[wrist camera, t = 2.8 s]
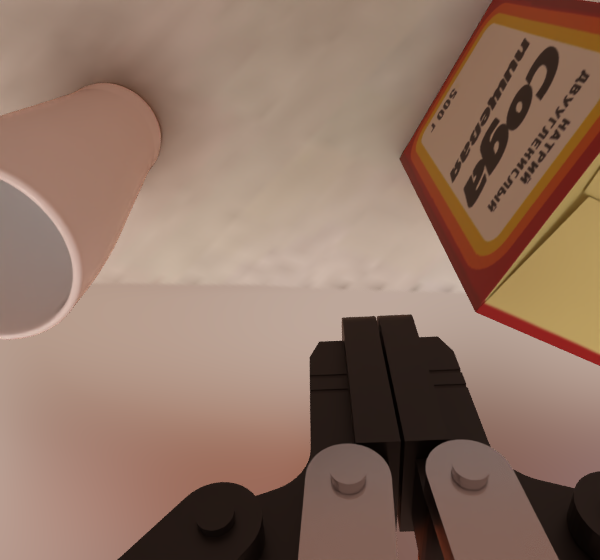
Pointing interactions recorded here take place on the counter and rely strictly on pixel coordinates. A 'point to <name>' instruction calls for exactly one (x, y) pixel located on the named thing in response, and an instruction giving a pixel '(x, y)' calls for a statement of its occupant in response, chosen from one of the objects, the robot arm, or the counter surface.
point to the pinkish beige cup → (66, 197)
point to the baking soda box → (521, 170)
